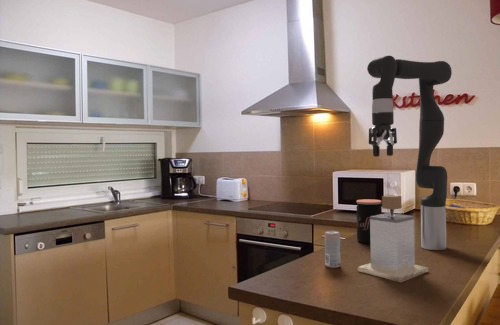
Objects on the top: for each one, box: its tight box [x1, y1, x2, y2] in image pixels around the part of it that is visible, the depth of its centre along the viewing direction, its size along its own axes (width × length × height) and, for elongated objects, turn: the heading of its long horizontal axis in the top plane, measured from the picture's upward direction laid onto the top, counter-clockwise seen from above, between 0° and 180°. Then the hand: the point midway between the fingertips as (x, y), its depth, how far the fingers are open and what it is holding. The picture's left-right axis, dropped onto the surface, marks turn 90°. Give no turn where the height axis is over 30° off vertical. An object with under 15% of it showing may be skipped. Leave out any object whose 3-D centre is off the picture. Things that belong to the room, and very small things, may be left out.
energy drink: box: [324, 230, 341, 269], centre depth 147 cm, size 5×5×12 cm
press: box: [357, 212, 429, 283], centre depth 139 cm, size 16×16×18 cm
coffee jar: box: [356, 198, 383, 245], centre depth 183 cm, size 11×11×18 cm
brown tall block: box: [381, 194, 402, 217], centre depth 139 cm, size 7×7×21 cm
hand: (383, 156), depth 154 cm, fingers open, 8 cm apart
